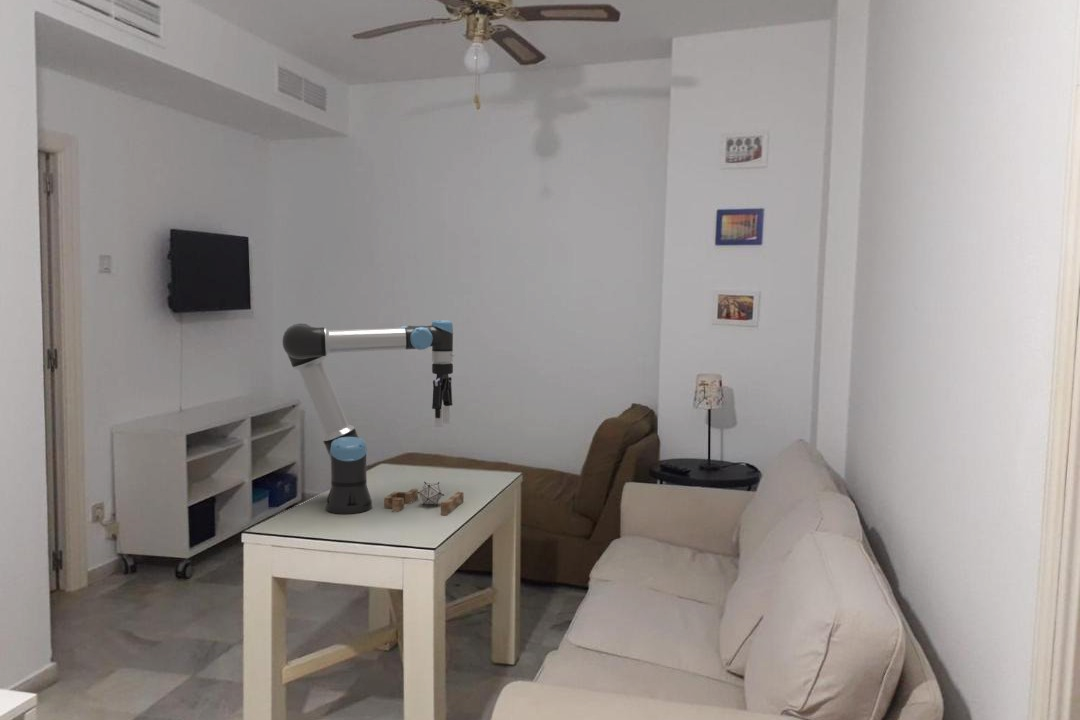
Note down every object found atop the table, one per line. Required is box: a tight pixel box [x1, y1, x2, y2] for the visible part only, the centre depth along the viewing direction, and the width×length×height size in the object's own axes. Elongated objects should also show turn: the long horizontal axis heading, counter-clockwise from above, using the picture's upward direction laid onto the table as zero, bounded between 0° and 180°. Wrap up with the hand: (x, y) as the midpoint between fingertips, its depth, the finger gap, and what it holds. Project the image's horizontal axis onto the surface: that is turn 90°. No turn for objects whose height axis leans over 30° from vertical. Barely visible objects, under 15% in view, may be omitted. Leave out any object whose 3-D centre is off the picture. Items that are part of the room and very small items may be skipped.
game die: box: [417, 481, 445, 507], centre depth 268 cm, size 9×8×10 cm
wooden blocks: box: [383, 488, 464, 516], centre depth 267 cm, size 18×24×4 cm
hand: (442, 424), depth 284 cm, fingers open, 8 cm apart
